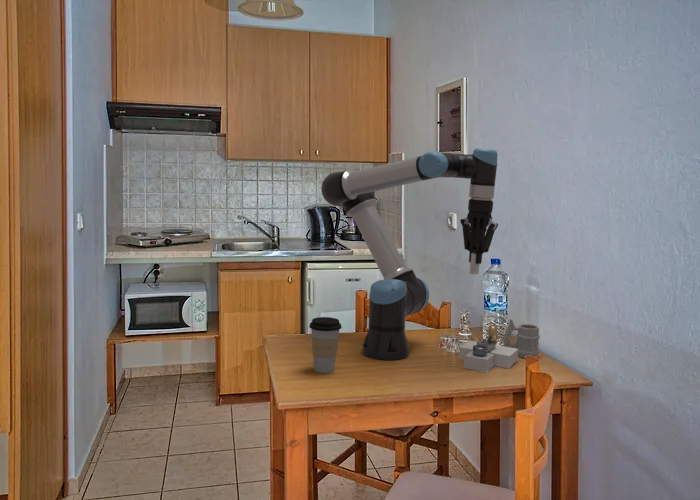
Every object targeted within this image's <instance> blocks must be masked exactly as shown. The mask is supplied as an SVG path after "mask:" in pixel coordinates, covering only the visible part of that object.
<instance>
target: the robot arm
mask: <svg viewBox="0 0 700 500" xmlns="http://www.w3.org/2000/svg"><path fill="white" fill-rule="evenodd" d="M497 169H498V152H497V150H496V149H491V148H474V149H473V152H472V153H471V154H466V153H465V154H463V153H452V152H443V151H436V150H434V151H428V152H425V153H424V154H423V155H420V156H414V157H410V158H405V159H402V160H398V161H397V160H396V161H394V162H390V163H386V164H382V165H378V166H372V167H368V168H366V169H361V170H356V171H351V170H349V169H347V170H344V171H336V172H331V173H329V174H328V175H326V176H325V177H324V179H323V181H322V182H321V183H322V184H321V187H320V188H321V189H320V190H321V191H320V192H321V195H322V197H323V199H324V200H325V202H327V203H328V204H329V205H332V206H335V207H342V208H343V210H344V213H345V215H346V216H347V217H348V218H349V217H350V218H352V219H353V220H354V223H355V224H356V227H357V228H358V231H359V233H360V234H361V236H362V238H363V240H364V243H365V244H366V246H367V248H368V250H369V252H370V254H371V256H372V259H373V260H374V262H375V264H376V266H377V268H378V270H379V272H380V273H381V275H382V278H383V279H380V280H376V281H374V282H373V283H371V286H370V290H369V296H368V297H369V304H368V305H369V307H368V330H367V332H366V335H365V338H364V341H363V343H362V348H361V349H362V351H361V353H362V355H364V356H366V357H368V358H371V359H374V360H375V359H376V360H382V361H396V360H402V359H405V358H407V357H409V356H410V346H409V342H408V339H407V338H408V337H407V335H406V331H405V330H406V328H405V326H406V317H407V316H409V315H412V314H416V313H419V312H420V311H421V310H423V309H424V308H425V307H426V306H427V304H428V302H429V299H430V290H429V287H428V285H427V283H426V282H425V281H424V280H422V279H421V278H418V277H417V276H416V273H415V271H414V270H413V269H412V268H409V267H407V266H406V263H405V261H404V260H403V258H402V256H401V254H400V252H399V250H398V248H397V246H396V245H395V243H394V241H393V239H392V237H391V234H390V233H389V232H388V229H387V227H386V226H385V223H384V221H383V219H382V218H381V216H380V214H379V211H378V209H377V208H376V204H377V198H376V193H375V192H377V191H382V190H387V189H391V188H395V187H400V186H404V185H409V184H414V183H418V182H423V181H429V180H431V179H438V178H455V179H457V178H458V179H470V184H469V193H468V197H469V200H468V203H467V204H468V205H467V209H468V213H467V215H466V217H465V218H460V224H461V226H462V236H463V247H464V250H466V251H468V252H469V257H468V263H470V265H469V274H470V275H478V274H479V271H480V265H481V264H482V260H483V254H484V253H488V252H489V251H490V248H491V244H492V240H493V237H494V234H495V231H496V229H498V227H499V223H496V222H494V221H493V217H492V212H493V210H494V209H493V208H494V201H493V200H494V198H495V187H496V178H497V177H496V176H497Z"/></svg>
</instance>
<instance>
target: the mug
mask: <svg viewBox="0 0 700 500" xmlns="http://www.w3.org/2000/svg"><path fill="white" fill-rule="evenodd" d="M513 331H517V333H516V338H517V339H516V341H514V342H510V335H511V334H512V333H513ZM539 333H540V328H539V327H538V326H537V325H534V324H530V323H529V324H527V323H526V324H525V323H524V324H523V323H522V324H519V325H518V326H515V323H514V321H513V319H511V318H509V321H508V325H507V327H506V329H505V332H504V334H503V336H502V339H503V343H502V344H503V346H504V347H510V348H516V349H518V356H519V357H518V358H521V357H525V356H526V355H531V356H538V357H539V354H540V349H539V340H540V335H539Z"/></svg>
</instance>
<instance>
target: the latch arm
mask: <svg viewBox="0 0 700 500" xmlns="http://www.w3.org/2000/svg"><path fill="white" fill-rule="evenodd" d="M498 327H499V326H498V325H493V324H491V325H489V324H488V332H487V339H486V341H485V342H483V346H482V347H479V346H478V345H474V346H473V354H474V355H477V356H486V355H487V352H488V351H490V350H491V349H493V348H495V346H496V345H497V343H496V342H497V340H498V329H499V328H498Z"/></svg>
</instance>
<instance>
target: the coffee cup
mask: <svg viewBox="0 0 700 500" xmlns="http://www.w3.org/2000/svg"><path fill="white" fill-rule="evenodd" d="M309 328H310V331H311V339H310V340H311V350H312V358H313V370H314V372H316V373H319V374H331V373H333V372H334V371H335V363H336V357H337V354H338V346H339V338H340V336H339V334H340V330H341V329H342V328H343V326H342V324H341V323H340V320H339V319H338V318H336V317H335V318H334V317H327V316H321V317H314V318H312V320H311V322H310V323H309Z"/></svg>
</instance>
